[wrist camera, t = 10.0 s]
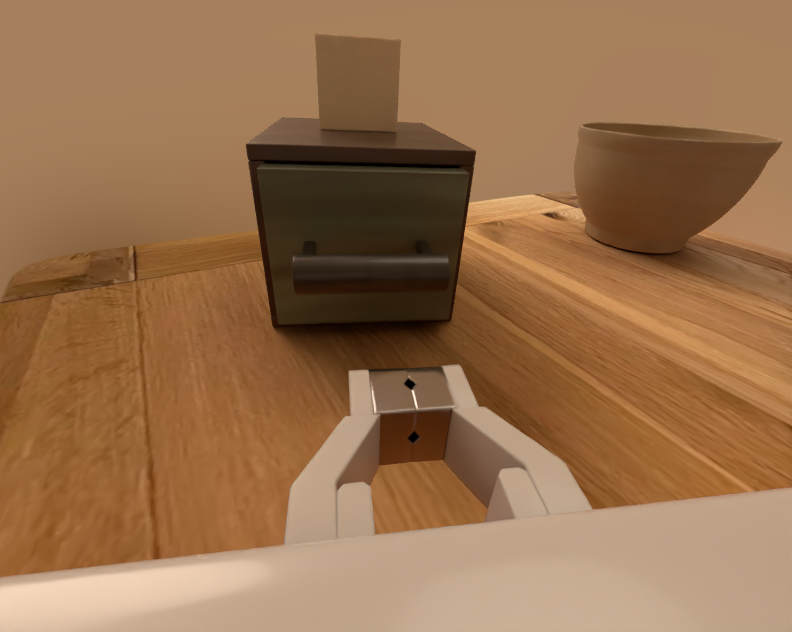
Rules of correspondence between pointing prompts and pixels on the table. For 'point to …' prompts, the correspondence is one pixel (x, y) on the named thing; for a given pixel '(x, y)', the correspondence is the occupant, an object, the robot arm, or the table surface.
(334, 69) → the block
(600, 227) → the planter bowl
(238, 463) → the table surface
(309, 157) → the cabinet
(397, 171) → the drawer
